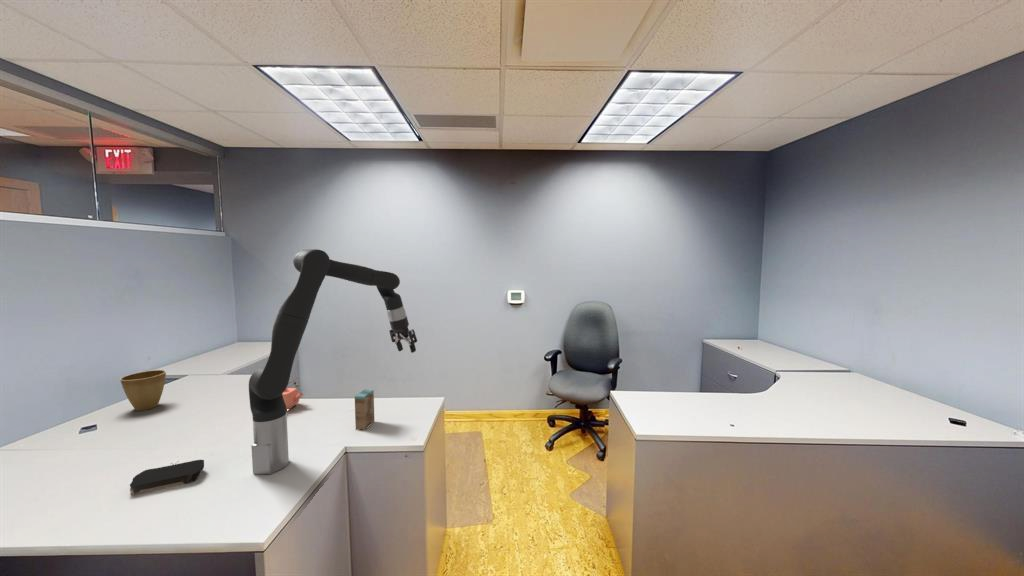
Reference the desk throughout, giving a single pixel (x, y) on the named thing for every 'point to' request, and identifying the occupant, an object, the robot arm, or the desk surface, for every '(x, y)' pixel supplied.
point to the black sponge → (166, 476)
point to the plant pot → (144, 388)
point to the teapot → (291, 397)
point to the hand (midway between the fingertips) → (407, 351)
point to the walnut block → (364, 409)
